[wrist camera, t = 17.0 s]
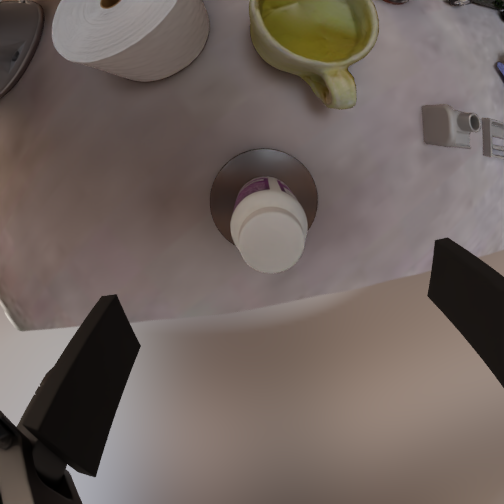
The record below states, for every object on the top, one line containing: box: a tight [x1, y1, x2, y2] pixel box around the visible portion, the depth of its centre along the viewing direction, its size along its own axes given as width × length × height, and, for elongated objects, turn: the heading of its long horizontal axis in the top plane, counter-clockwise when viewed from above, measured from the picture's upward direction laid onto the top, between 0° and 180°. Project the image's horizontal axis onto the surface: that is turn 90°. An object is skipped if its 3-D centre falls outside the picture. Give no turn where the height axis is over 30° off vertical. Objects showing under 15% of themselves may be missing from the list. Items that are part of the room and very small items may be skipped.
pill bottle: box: [230, 177, 308, 273], centre depth 21 cm, size 5×5×10 cm
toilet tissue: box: [52, 0, 209, 82], centre depth 14 cm, size 11×12×10 cm
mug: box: [249, 0, 379, 109], centre depth 16 cm, size 12×10×10 cm
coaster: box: [210, 149, 318, 246], centre depth 25 cm, size 10×10×1 cm
